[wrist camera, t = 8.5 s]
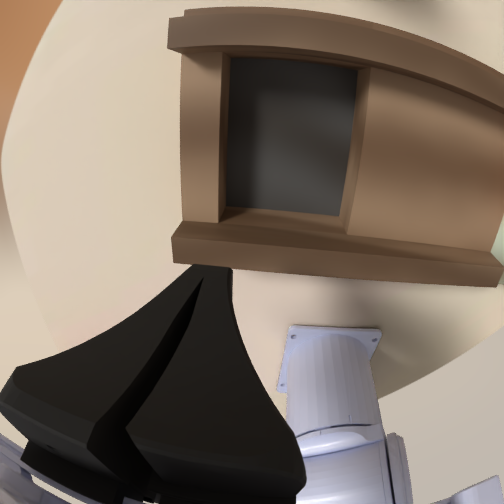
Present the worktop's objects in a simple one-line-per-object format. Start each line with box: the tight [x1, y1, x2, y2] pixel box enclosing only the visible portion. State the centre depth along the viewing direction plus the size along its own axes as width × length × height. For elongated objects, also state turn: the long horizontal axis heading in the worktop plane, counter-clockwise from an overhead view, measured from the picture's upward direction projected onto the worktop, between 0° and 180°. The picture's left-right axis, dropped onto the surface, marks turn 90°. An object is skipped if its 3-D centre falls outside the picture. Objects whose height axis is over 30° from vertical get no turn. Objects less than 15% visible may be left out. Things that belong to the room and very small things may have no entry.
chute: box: [167, 7, 504, 287], centre depth 13 cm, size 14×28×5 cm, turn 87°
